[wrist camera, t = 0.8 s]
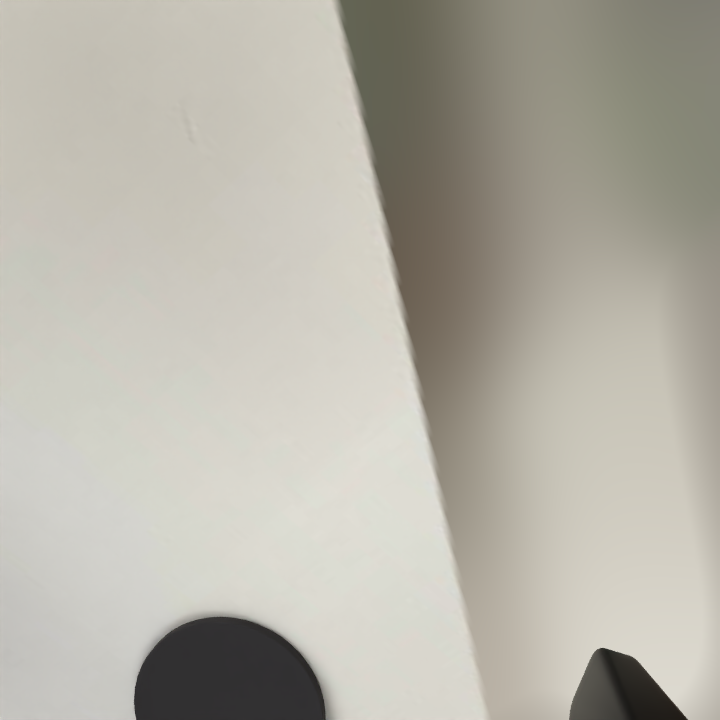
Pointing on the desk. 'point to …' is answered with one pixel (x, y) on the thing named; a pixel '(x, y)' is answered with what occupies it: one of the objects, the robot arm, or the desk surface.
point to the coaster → (226, 675)
